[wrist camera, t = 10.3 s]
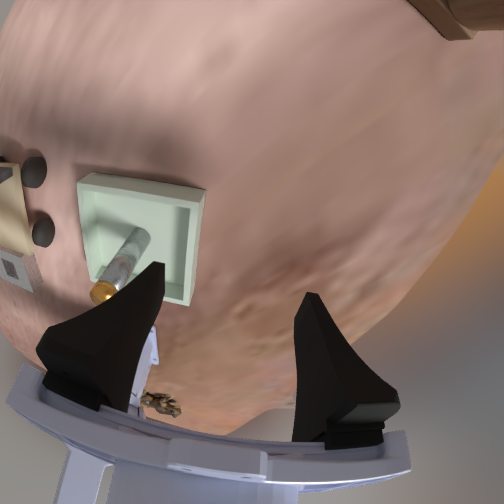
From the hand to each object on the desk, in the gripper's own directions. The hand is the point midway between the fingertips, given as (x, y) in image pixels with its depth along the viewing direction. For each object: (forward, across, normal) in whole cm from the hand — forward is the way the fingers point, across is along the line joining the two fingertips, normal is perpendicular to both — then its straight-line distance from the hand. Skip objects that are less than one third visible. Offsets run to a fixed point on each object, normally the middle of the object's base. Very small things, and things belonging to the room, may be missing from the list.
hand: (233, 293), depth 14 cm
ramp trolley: (+10, +25, +3) cm, 27 cm away
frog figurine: (+11, +9, +44) cm, 46 cm away
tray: (+10, +9, +5) cm, 15 cm away
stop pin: (+10, +9, +5) cm, 14 cm away
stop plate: (+10, +30, +14) cm, 35 cm away
